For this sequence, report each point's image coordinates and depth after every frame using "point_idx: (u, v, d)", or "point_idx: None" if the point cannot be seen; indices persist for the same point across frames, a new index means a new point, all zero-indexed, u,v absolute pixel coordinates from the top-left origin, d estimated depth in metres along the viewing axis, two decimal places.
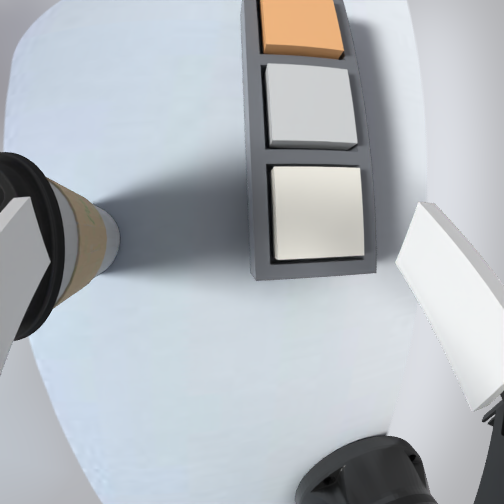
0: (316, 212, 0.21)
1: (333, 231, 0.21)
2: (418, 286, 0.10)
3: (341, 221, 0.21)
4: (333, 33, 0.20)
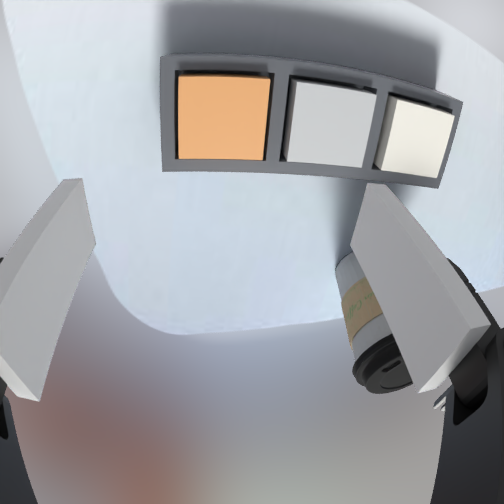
0: (419, 145, 0.22)
1: (434, 135, 0.22)
2: (368, 266, 0.11)
3: (430, 127, 0.21)
4: (245, 86, 0.19)
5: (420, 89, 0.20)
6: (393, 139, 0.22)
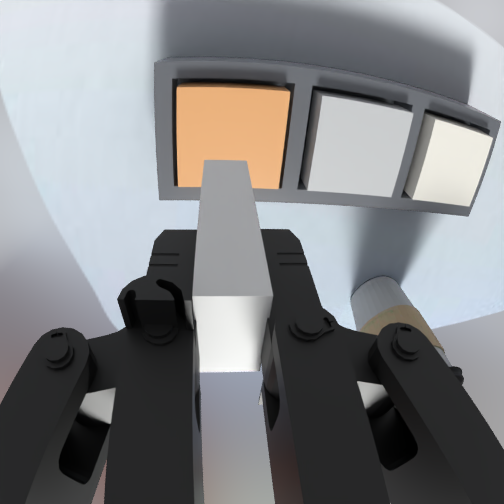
0: (454, 171, 0.19)
1: (471, 160, 0.18)
2: None
3: (467, 151, 0.18)
4: (259, 100, 0.16)
5: (458, 106, 0.17)
6: (428, 164, 0.19)
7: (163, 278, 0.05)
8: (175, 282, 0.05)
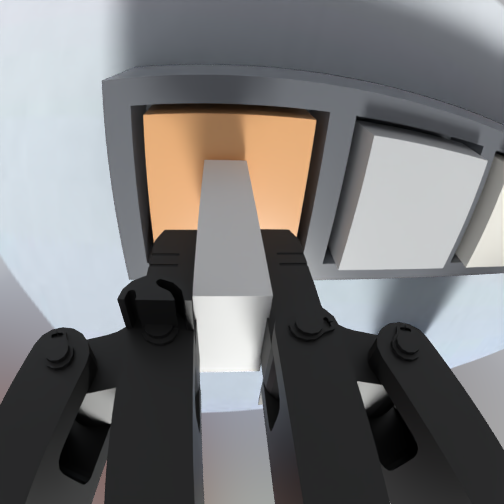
0: None
1: None
2: None
3: None
4: (269, 133, 0.11)
5: None
6: (491, 225, 0.13)
7: (163, 278, 0.05)
8: (175, 282, 0.05)
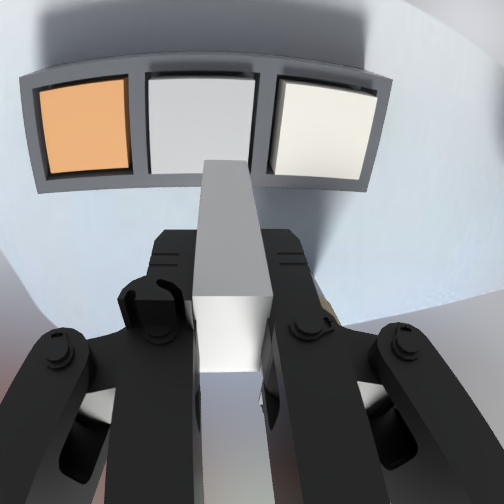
0: (326, 139, 0.19)
1: (348, 125, 0.19)
2: None
3: (341, 115, 0.18)
4: (99, 92, 0.16)
5: (325, 67, 0.17)
6: (286, 134, 0.19)
7: (163, 278, 0.05)
8: (175, 282, 0.05)
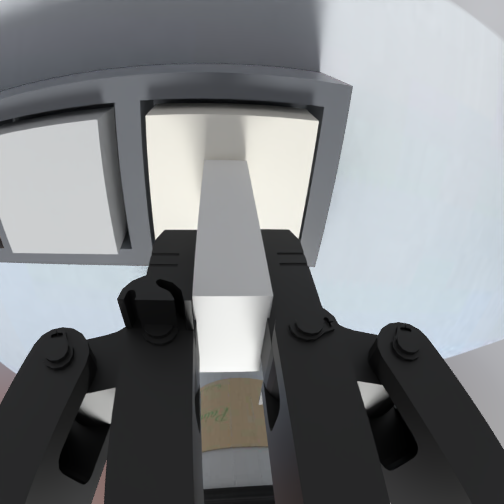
0: None
1: (266, 174, 0.12)
2: None
3: (250, 158, 0.11)
4: None
5: (220, 76, 0.10)
6: (161, 197, 0.12)
7: (163, 278, 0.05)
8: (175, 282, 0.05)
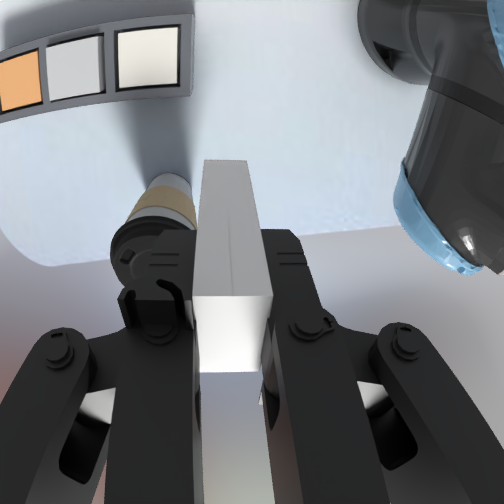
0: (147, 60, 0.26)
1: (160, 49, 0.26)
2: None
3: (154, 43, 0.25)
4: (25, 59, 0.23)
5: (141, 18, 0.23)
6: (122, 62, 0.26)
7: (163, 278, 0.05)
8: (175, 282, 0.05)
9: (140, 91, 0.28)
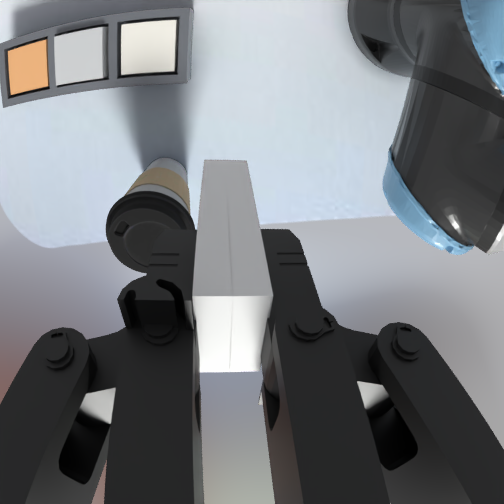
0: (147, 49, 0.28)
1: (159, 39, 0.27)
2: None
3: (154, 34, 0.27)
4: (35, 47, 0.24)
5: (143, 11, 0.25)
6: (124, 51, 0.27)
7: (163, 278, 0.05)
8: (175, 282, 0.05)
9: (140, 78, 0.29)
